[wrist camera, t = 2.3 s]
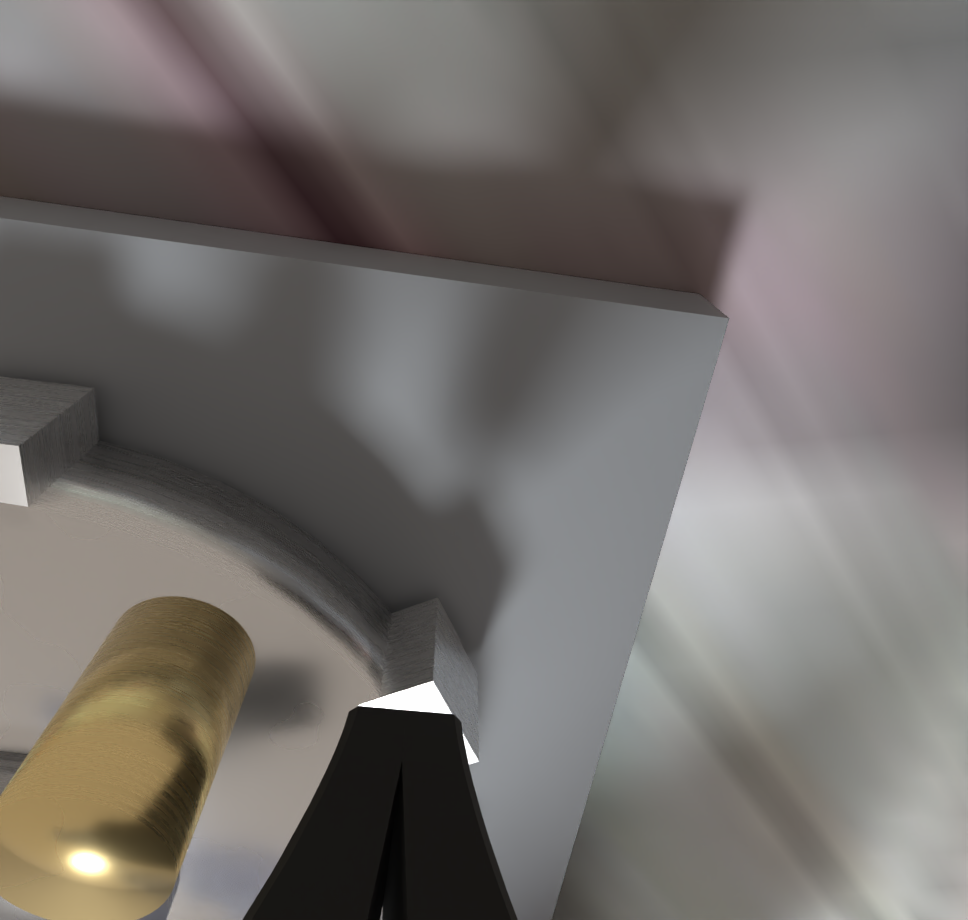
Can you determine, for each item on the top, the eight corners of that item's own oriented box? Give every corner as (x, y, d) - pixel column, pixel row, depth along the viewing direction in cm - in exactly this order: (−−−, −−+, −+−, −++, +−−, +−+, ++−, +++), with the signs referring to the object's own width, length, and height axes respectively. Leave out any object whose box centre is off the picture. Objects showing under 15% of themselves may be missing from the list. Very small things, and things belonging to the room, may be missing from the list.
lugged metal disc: (249, 1051, 19) (178, 1368, 14) (-457, 802, 14) (-911, 1147, 9) (636, 718, 14) (722, 1034, 9) (-251, 177, 9) (-974, 254, 5)
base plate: (510, 987, 21) (513, 1052, 19) (-241, 943, 19) (-298, 1011, 18) (699, 294, 12) (731, 320, 11) (-650, 105, 10) (-829, 105, 9)
